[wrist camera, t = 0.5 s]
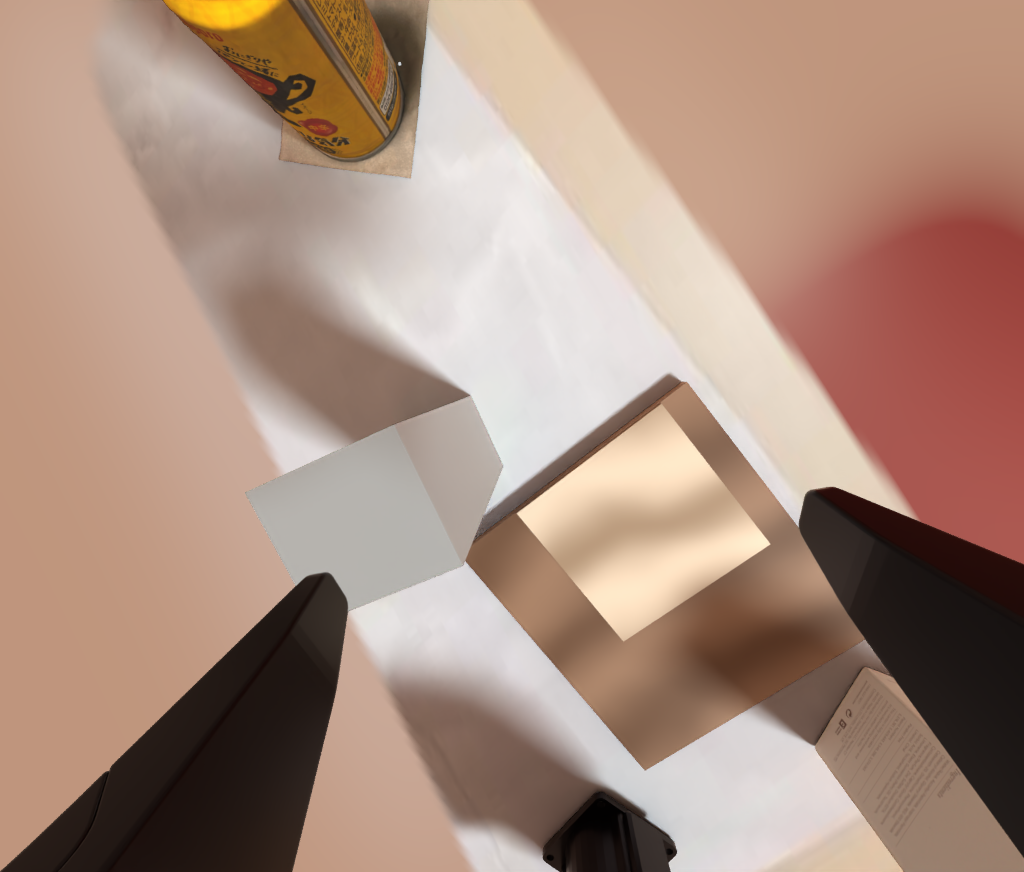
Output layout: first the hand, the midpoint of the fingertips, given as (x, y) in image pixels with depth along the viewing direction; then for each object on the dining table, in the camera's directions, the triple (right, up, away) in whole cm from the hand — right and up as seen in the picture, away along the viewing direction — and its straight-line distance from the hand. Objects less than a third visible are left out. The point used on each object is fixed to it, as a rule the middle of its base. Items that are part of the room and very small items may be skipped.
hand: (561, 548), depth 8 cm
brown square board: (+7, -6, +17) cm, 19 cm away
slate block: (-5, +1, +16) cm, 17 cm away
